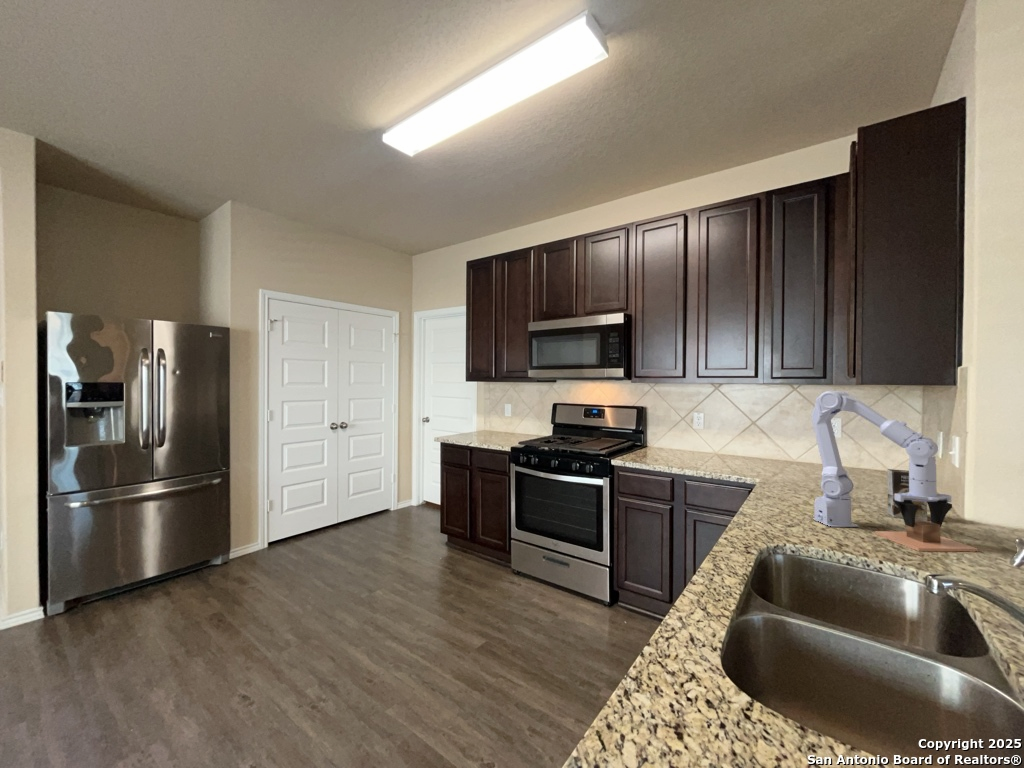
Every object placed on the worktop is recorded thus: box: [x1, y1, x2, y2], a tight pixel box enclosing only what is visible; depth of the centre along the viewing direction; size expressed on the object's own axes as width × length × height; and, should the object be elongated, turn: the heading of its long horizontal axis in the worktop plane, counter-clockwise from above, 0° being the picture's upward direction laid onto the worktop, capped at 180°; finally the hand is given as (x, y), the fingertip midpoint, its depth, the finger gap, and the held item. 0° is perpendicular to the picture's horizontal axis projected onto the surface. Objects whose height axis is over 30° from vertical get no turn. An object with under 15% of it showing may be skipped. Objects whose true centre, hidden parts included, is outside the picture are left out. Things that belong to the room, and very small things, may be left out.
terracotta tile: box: [874, 530, 979, 553], centre depth 121 cm, size 16×14×1 cm
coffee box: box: [886, 468, 928, 521], centre depth 146 cm, size 9×6×16 cm
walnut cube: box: [905, 520, 942, 543], centre depth 121 cm, size 5×5×5 cm
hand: (923, 526), depth 121 cm, fingers open, 7 cm apart
